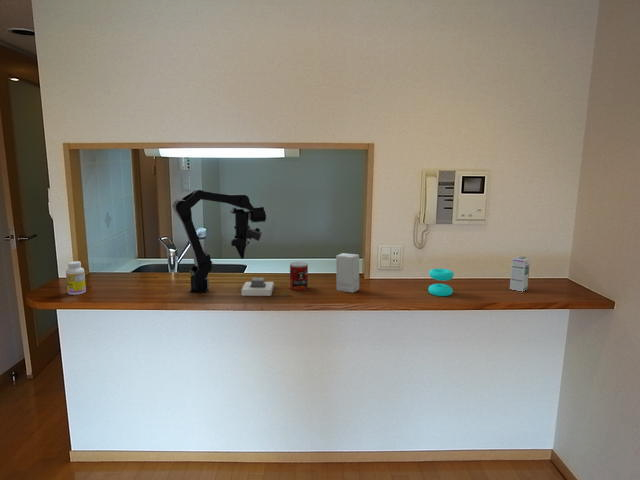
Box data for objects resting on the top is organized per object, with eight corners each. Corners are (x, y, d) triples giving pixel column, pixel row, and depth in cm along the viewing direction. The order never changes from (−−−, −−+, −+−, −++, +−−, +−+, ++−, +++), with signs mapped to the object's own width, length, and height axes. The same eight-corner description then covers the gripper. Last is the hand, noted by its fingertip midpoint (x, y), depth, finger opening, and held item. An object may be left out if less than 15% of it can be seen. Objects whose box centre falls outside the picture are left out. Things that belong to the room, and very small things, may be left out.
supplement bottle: (65, 293, 182) (62, 262, 179) (82, 289, 187) (79, 259, 184) (71, 296, 177) (68, 265, 175) (88, 292, 182) (86, 262, 180)
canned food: (292, 291, 187) (292, 266, 185) (288, 286, 195) (288, 262, 193) (309, 290, 189) (309, 265, 187) (305, 285, 197) (305, 261, 195)
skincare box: (359, 289, 191) (360, 254, 188) (352, 293, 185) (353, 257, 183) (342, 286, 195) (343, 252, 192) (335, 290, 190) (335, 254, 187)
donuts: (433, 266, 192) (456, 269, 187) (432, 288, 194) (455, 292, 188) (426, 271, 184) (450, 274, 178) (424, 294, 185) (448, 298, 180)
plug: (251, 291, 185) (251, 279, 184) (253, 288, 189) (252, 277, 188) (263, 291, 185) (263, 279, 184) (264, 288, 189) (264, 277, 188)
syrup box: (522, 292, 189) (526, 259, 187) (509, 289, 193) (511, 257, 191) (527, 290, 193) (530, 257, 191) (513, 287, 197) (516, 255, 195)
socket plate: (241, 295, 181) (241, 289, 180) (246, 287, 193) (246, 281, 192) (271, 295, 181) (270, 289, 181) (273, 287, 193) (273, 282, 192)
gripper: (257, 226, 183) (258, 263, 185) (262, 220, 201) (263, 254, 204) (230, 226, 183) (231, 263, 185) (238, 220, 201) (239, 254, 204)
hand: (242, 258), depth 194 cm, fingers closed
